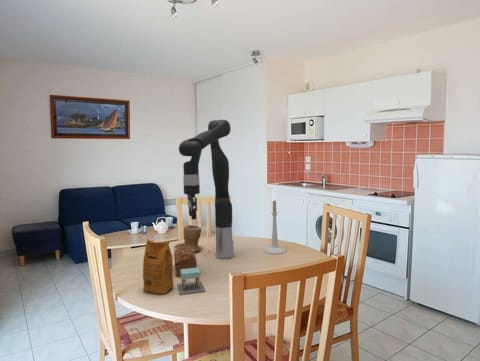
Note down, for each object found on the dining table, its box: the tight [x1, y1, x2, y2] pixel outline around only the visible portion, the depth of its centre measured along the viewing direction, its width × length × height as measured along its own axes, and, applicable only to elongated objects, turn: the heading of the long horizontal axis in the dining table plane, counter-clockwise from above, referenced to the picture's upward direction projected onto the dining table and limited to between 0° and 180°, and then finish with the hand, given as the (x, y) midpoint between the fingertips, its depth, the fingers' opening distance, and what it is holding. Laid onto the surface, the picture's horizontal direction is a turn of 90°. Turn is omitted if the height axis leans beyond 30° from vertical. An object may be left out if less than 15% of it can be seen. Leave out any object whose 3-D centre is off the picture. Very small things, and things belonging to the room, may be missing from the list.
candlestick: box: [263, 200, 287, 256], centre depth 206 cm, size 13×13×30 cm
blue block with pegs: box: [180, 266, 202, 290], centre depth 156 cm, size 6×8×7 cm
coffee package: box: [142, 239, 174, 295], centre depth 155 cm, size 10×12×22 cm
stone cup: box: [173, 224, 202, 253], centre depth 211 cm, size 15×12×15 cm
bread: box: [173, 248, 198, 277], centre depth 180 cm, size 19×11×10 cm, turn 11°
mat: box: [176, 280, 206, 296], centre depth 157 cm, size 11×11×1 cm
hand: (192, 217), depth 170 cm, fingers open, 8 cm apart
